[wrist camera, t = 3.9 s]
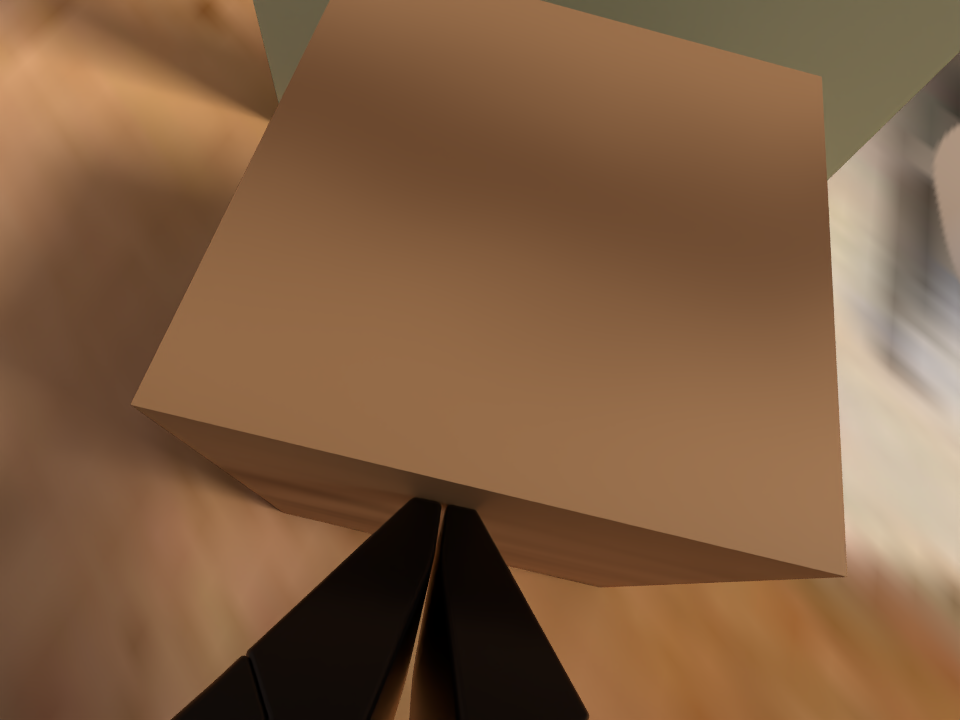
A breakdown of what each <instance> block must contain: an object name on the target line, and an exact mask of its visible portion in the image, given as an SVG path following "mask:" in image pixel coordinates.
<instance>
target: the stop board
mask: <svg viewBox="0 0 960 720" xmlns="http://www.w3.org/2000/svg"><path fill="white" fill-rule="evenodd" d="M329 1H330V0H253V2H254V6H255V10H256V14H257V18H258V22H259V26H260V30H261V34H262V38H263V42H264V46H265V50H266V54H267V58H268V62H269V66H270V70H271V74H272V78H273V82H274V86H275V90H276V94H277V98H278V102H280V100H281V98H282V96H283V94H284V92H285V90H286V88H287V86H288V84H289V82H290V80H291V78H292V76H293V74H294V72H295V70H296V68H297V66H298V64H299V62H300V59H301V57H302V55H303V53H304V51H305V49H306V47H307V45H308V43H309V41H310V39H311V37H312V35H313V33H314V31H315V29H316V27H317V25H318V23H319V21H320V19H321V17H322V15H323V13H324V11H325V9H326V7H327V5H328V3H329ZM541 1H545V2H549V3H552V4H556V5H560V6H563V7H567V8H571V9H574V10H578V11H582V12H585V13H589V14H593V15H596V16H600V17H604V18H607V19H611V20H615V21H619V22H622V23H626V24H630V25H633V26H637V27H641V28H644V29H648V30H652V31H655V32H659V33H663V34H666V35H670V36H674V37H677V38H681V39H685V40H688V41H692V42H696V43H699V44H703V45H707V46H711V47H714V48H718V49H722V50H725V51H729V52H733V53H736V54H740V55H744V56H747V57H751V58H755V59H758V60H762V61H766V62H769V63H773V64H777V65H780V66H784V67H788V68H792V69H795V70H799V71H803V72H806V73H810V74H814V75H817V76H821V77H822V89H823V109H824V128H825V148H826V168H827V180H828V179H829V178H830V177H831V176H832V175H833V174H834V173H836V172H837V171H838V170H839V169H840V168H841V167H842V166H843V165H844V164H845V163H846V162H847V161H848V160H849V159H850V158H851V157H852V156H853V155H854V154H855V153H856V152H857V151H858V150H859V149H860V148H861V147H862V146H863V145H864V144H865V143H866V142H867V141H868V140H869V139H870V138H871V137H873V136H874V135H875V134H876V133H877V132H878V131H879V130H880V129H881V128H882V127H883V126H884V125H885V124H886V123H887V122H888V121H889V120H890V119H891V118H892V117H893V116H894V115H895V114H896V113H897V112H898V111H899V110H900V109H901V108H902V107H903V106H904V105H905V104H906V103H907V102H908V101H910V100H911V99H912V98H913V97H914V96H915V95H916V94H917V93H918V92H919V91H920V90H921V89H922V88H923V87H924V86H925V85H926V84H927V83H928V82H929V81H930V80H931V79H932V78H933V77H934V76H935V75H936V74H937V73H938V72H939V71H940V70H941V69H942V68H943V67H944V66H945V65H947V64H948V63H949V62H950V61H951V60H952V59H953V58H954V57H955V56H956V55H957V54H958V53H959V52H960V0H541Z"/></svg>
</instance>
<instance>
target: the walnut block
mask: <svg viewBox="0 0 960 720" xmlns="http://www.w3.org/2000/svg"><path fill="white" fill-rule="evenodd" d="M131 405H132V406H133V407H134V408H136V409H137V410H139V411H140V412H142V413H143V414H144V415H146V416H147V417H149V418H150V419H151V420H153V421H154V422H156V423H157V424H159V425H160V426H161V427H163V428H164V429H166V430H167V431H168V432H170V433H171V434H173V435H174V436H176V437H177V438H178V439H180V440H181V441H183V442H184V443H185V444H187V445H188V446H190V447H191V448H193V449H194V450H195V451H197V452H198V453H200V454H201V455H203V456H204V457H205V458H207V459H208V460H210V461H211V462H212V463H214V464H215V465H217V466H218V467H220V468H221V469H222V470H224V471H225V472H227V473H228V474H229V475H231V476H232V477H234V478H235V479H237V480H238V481H239V482H241V483H242V484H244V485H245V486H247V487H248V488H249V489H251V490H252V491H254V492H255V493H256V494H258V495H259V496H261V497H262V498H264V499H265V500H266V501H268V502H269V503H271V504H272V505H273V506H275V507H276V508H278V509H279V510H281V511H282V512H283V513H287V514H291V515H295V516H300V517H304V518H308V519H312V520H317V521H321V522H325V523H329V524H334V525H338V526H342V527H346V528H351V529H355V530H359V531H363V532H368V533H372V534H373V533H374V532H375V531H377V530H378V529H379V528H380V527H381V526H382V525H383V524H384V523H385V522H386V521H387V520H388V519H389V518H391V517H392V516H393V515H394V514H395V513H396V512H397V511H398V510H399V509H400V508H401V507H402V506H403V505H404V504H406V503H407V502H408V501H409V500H410V499H411V498H414V497H418V498H423V499H427V500H432V501H437V502H439V503H440V504H441V515H440V522H439V529H438V536H437V541H438V537H439V533H440V528H441V524H442V520H443V516H444V512H445V509H446V507H447V506H448V505H456V506H461V507H465V508H470V509H474V510H476V511H477V512H478V514H479V516H480V518H481V519H482V521H483V523H484V525H485V527H486V528H487V530H488V532H489V534H490V536H491V538H492V539H493V541H494V543H495V545H496V547H497V548H498V550H499V552H500V554H501V556H502V557H503V559H504V561H505V563H506V565H507V566H512V567H516V568H520V569H524V570H529V571H533V572H537V573H541V574H546V575H550V576H554V577H558V578H563V579H567V580H571V581H575V582H580V583H584V584H588V585H592V586H597V587H620V586H644V585H667V584H691V583H714V582H738V581H761V580H785V579H808V578H832V577H847V562H846V543H845V523H844V503H843V484H842V464H841V444H840V424H839V405H838V385H837V365H836V345H835V326H834V306H833V286H832V267H831V247H830V227H829V207H828V188H827V168H826V148H825V128H824V109H823V89H822V77H821V76H817V75H814V74H810V73H806V72H803V71H799V70H795V69H792V68H788V67H784V66H780V65H777V64H773V63H769V62H766V61H762V60H758V59H755V58H751V57H747V56H744V55H740V54H736V53H733V52H729V51H725V50H722V49H718V48H714V47H711V46H707V45H703V44H699V43H696V42H692V41H688V40H685V39H681V38H677V37H674V36H670V35H666V34H663V33H659V32H655V31H652V30H648V29H644V28H641V27H637V26H633V25H630V24H626V23H622V22H619V21H615V20H611V19H607V18H604V17H600V16H596V15H593V14H589V13H585V12H582V11H578V10H574V9H571V8H567V7H563V6H560V5H556V4H552V3H549V2H545V1H541V0H330V1H329V3H328V5H327V7H326V9H325V11H324V13H323V15H322V17H321V19H320V21H319V23H318V25H317V27H316V29H315V31H314V33H313V35H312V37H311V39H310V41H309V43H308V45H307V47H306V49H305V51H304V53H303V55H302V57H301V59H300V62H299V64H298V66H297V68H296V70H295V72H294V74H293V76H292V78H291V80H290V82H289V84H288V86H287V88H286V90H285V92H284V94H283V96H282V98H281V100H280V102H279V104H278V106H277V108H276V110H275V112H274V114H273V116H272V118H271V120H270V122H269V124H268V126H267V128H266V131H265V133H264V135H263V137H262V139H261V141H260V143H259V145H258V147H257V149H256V151H255V153H254V155H253V157H252V159H251V161H250V163H249V165H248V167H247V169H246V171H245V173H244V175H243V177H242V179H241V181H240V183H239V185H238V187H237V189H236V191H235V193H234V195H233V198H232V200H231V202H230V204H229V206H228V208H227V210H226V212H225V214H224V216H223V218H222V220H221V222H220V224H219V226H218V228H217V230H216V232H215V234H214V236H213V238H212V240H211V242H210V244H209V246H208V248H207V250H206V252H205V254H204V256H203V258H202V260H201V262H200V264H199V267H198V269H197V271H196V273H195V275H194V277H193V279H192V281H191V283H190V285H189V287H188V289H187V291H186V293H185V295H184V297H183V299H182V301H181V303H180V305H179V307H178V309H177V311H176V313H175V315H174V317H173V319H172V321H171V323H170V325H169V327H168V329H167V331H166V334H165V336H164V338H163V340H162V342H161V344H160V346H159V348H158V350H157V352H156V354H155V356H154V358H153V360H152V362H151V364H150V366H149V368H148V370H147V372H146V374H145V376H144V378H143V380H142V382H141V384H140V386H139V388H138V390H137V392H136V394H135V396H134V398H133V400H132V403H131ZM436 546H437V543H436Z"/></svg>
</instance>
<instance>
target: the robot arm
mask: <svg viewBox="0 0 960 720" xmlns="http://www.w3.org/2000/svg"><path fill="white" fill-rule="evenodd" d="M440 515H441V504H440V503H439V502H437V501H432V500H427V499H423V498H418V497H414V498H411V499H410V500H409V501H408V502H407V503H406V504H404V505H403V506H402V507H401V508H400V509H399V510H398V511H397V512H396V513H395V514H394V515H393V516H392V517H391V518H389V519H388V520H387V521H386V522H385V523H384V524H383V525H382V526H381V527H380V528H379V529H378V530H377V531H375V532H374V533H373V534H372V535H371V536H370V537H369V538H368V539H367V540H366V541H365V542H364V543H363V544H362V545H360V546H359V547H358V548H357V549H356V550H355V551H354V552H353V553H352V554H351V555H350V556H349V557H348V558H347V559H345V560H344V561H343V562H342V563H341V564H340V565H339V566H338V567H337V568H336V569H335V570H334V571H333V572H331V573H330V574H329V575H328V576H327V577H326V578H325V579H324V580H323V581H322V582H321V583H320V584H319V585H318V586H316V587H315V588H314V589H313V590H312V591H311V592H310V593H309V594H308V595H307V596H306V597H305V598H304V599H302V600H301V601H300V602H299V603H298V604H297V605H296V606H295V607H294V608H293V609H292V610H291V611H290V612H289V613H287V614H286V615H285V616H284V617H283V618H282V619H281V620H280V621H279V622H278V623H277V624H276V625H275V626H274V627H272V628H271V629H270V630H269V631H268V632H267V633H266V634H265V635H264V636H263V637H262V638H261V639H260V640H258V641H257V642H256V643H255V644H254V645H253V646H252V647H251V648H250V649H249V650H248V651H247V654H246V656H241V657H240V658H239V659H238V660H236V661H235V662H234V663H233V664H232V665H231V666H230V667H229V668H228V669H227V670H226V671H225V672H224V673H223V674H222V675H221V676H219V677H218V678H217V679H216V680H215V681H214V682H213V683H212V684H211V685H210V686H209V687H207V688H206V689H205V690H204V691H203V692H202V693H201V694H199V695H198V696H197V697H196V698H195V699H194V700H193V701H191V702H190V703H189V704H188V705H187V706H186V707H185V708H183V709H182V710H181V711H180V712H179V713H178V714H177V715H176V716H174V717H173V718H172V719H171V720H394V717H395V713H396V710H397V707H398V704H399V701H400V698H401V694H402V691H403V687H404V684H405V680H406V677H407V673H408V669H409V664H410V660H411V656H412V651H413V647H414V643H415V638H416V634H417V630H418V626H419V621H420V617H421V613H422V608H423V604H424V600H425V596H426V591H427V587H428V591H427V597H426V602H425V608H424V613H423V619H422V624H421V630H420V635H419V641H418V646H417V652H416V657H415V664H414V670H413V678H412V689H411V702H410V718H409V720H588V719H589V713H588V711H587V710H586V708H585V706H584V704H583V702H582V701H581V699H580V697H579V695H578V693H577V692H576V690H575V688H574V686H573V684H572V682H571V681H570V679H569V677H568V675H567V673H566V672H565V670H564V668H563V666H562V664H561V663H560V661H559V659H558V657H557V655H556V653H555V652H554V650H553V648H552V646H551V644H550V643H549V641H548V639H547V637H546V635H545V634H544V632H543V630H542V628H541V626H540V625H539V623H538V621H537V619H536V617H535V615H534V614H533V612H532V610H531V608H530V606H529V605H528V603H527V601H526V599H525V597H524V596H523V594H522V592H521V590H520V588H519V586H518V585H517V583H516V581H515V579H514V577H513V576H512V574H511V572H510V570H509V568H508V567H507V565H506V563H505V561H504V559H503V557H502V556H501V554H500V552H499V550H498V548H497V547H496V545H495V543H494V541H493V539H492V538H491V536H490V534H489V532H488V530H487V528H486V527H485V525H484V523H483V521H482V519H481V518H480V516H479V514H478V512H477V511H476V510H474V509H470V508H465V507H461V506H456V505H448V506H447V507H446V509H445V512H444V516H443V520H442V524H441V528H440V533H439V537H438V541H437V536H438V529H439V522H440ZM436 543H437V546H436ZM430 574H431V575H430ZM429 578H430V580H429ZM428 583H429V586H428Z"/></svg>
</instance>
